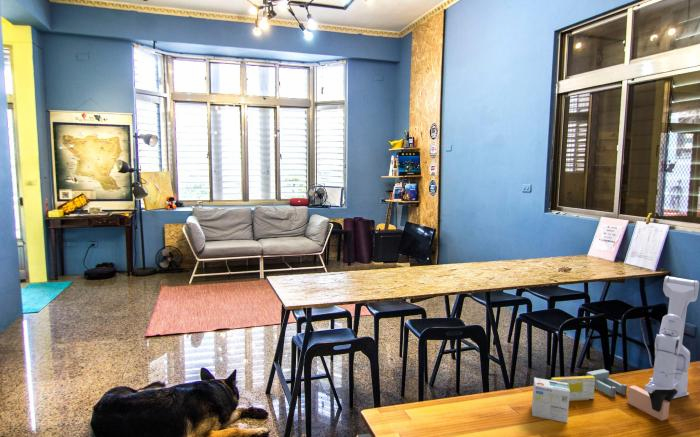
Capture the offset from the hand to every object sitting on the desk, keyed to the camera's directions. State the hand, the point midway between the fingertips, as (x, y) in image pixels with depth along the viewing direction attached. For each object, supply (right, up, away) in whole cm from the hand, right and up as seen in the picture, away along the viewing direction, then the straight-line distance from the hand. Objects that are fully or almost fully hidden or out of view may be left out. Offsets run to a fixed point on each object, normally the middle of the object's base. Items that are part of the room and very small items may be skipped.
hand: (659, 409), depth 149 cm
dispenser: (-7, 0, +18) cm, 19 cm away
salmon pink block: (-2, -2, +4) cm, 5 cm away
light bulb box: (-37, -2, -1) cm, 37 cm away
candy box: (-25, -1, +10) cm, 26 cm away
